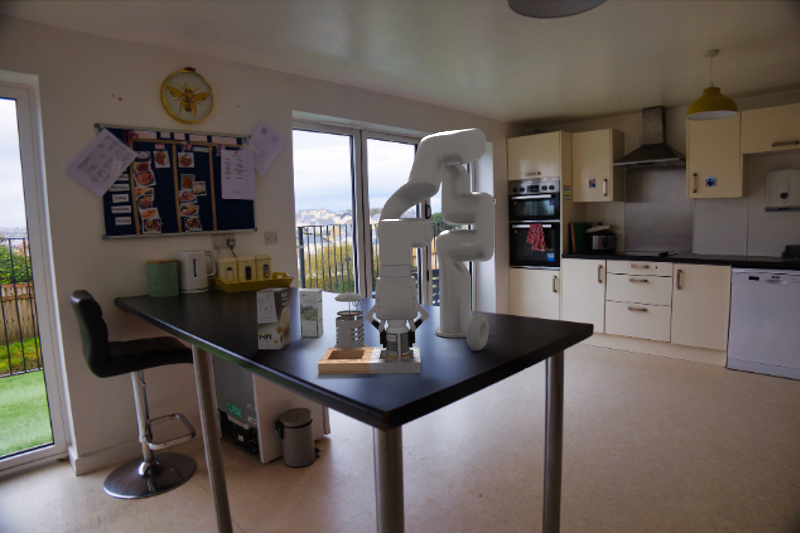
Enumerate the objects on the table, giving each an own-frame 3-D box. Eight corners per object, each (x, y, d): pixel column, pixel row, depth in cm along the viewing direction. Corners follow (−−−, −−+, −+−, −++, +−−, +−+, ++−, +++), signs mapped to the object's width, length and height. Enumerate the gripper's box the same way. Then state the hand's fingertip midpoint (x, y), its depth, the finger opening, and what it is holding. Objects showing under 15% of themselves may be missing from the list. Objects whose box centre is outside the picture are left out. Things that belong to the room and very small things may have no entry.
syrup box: (323, 333, 148) (322, 287, 147) (318, 337, 142) (317, 290, 141) (306, 333, 148) (304, 287, 147) (300, 337, 143) (298, 290, 141)
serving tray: (419, 356, 119) (419, 346, 119) (420, 373, 106) (420, 362, 105) (329, 357, 120) (328, 347, 120) (318, 374, 106) (318, 363, 106)
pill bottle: (406, 354, 117) (405, 314, 116) (413, 360, 111) (412, 319, 110) (383, 356, 115) (382, 316, 114) (389, 363, 110) (388, 321, 109)
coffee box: (280, 349, 129) (278, 291, 127) (258, 349, 129) (255, 291, 128) (291, 341, 138) (289, 287, 136) (270, 341, 138) (268, 287, 137)
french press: (326, 350, 127) (323, 257, 125) (345, 340, 138) (343, 255, 136) (359, 353, 124) (356, 258, 122) (376, 342, 135) (374, 255, 133)
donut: (476, 355, 119) (476, 316, 118) (464, 354, 121) (463, 315, 120) (491, 346, 127) (491, 310, 127) (479, 345, 129) (479, 309, 128)
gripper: (431, 269, 115) (433, 341, 116) (360, 271, 115) (363, 343, 117) (432, 272, 107) (434, 350, 109) (357, 274, 108) (360, 352, 109)
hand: (397, 346), depth 113 cm, fingers closed on pill bottle, 5 cm apart
